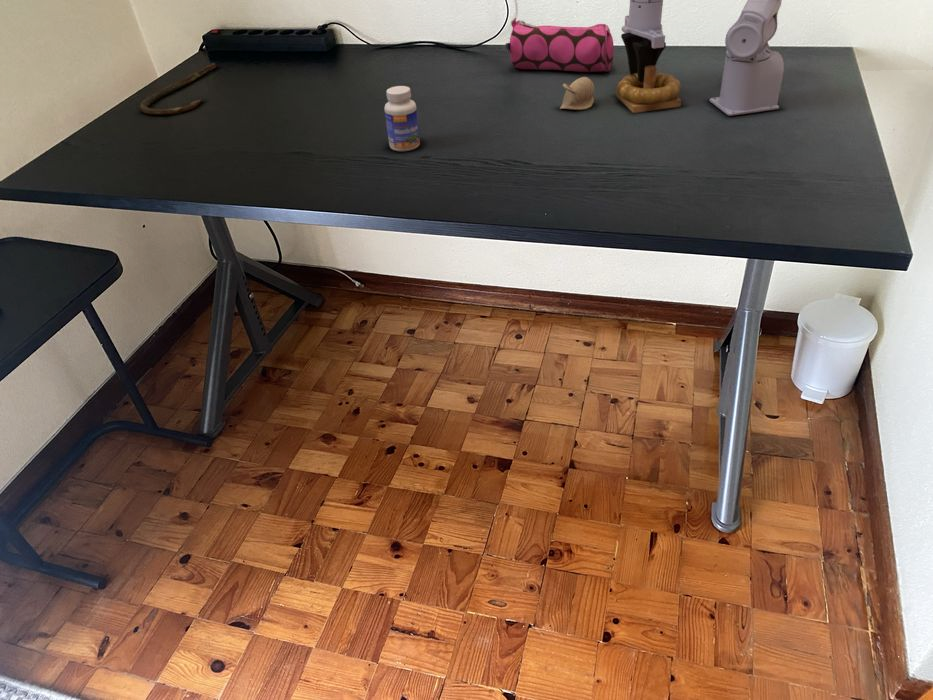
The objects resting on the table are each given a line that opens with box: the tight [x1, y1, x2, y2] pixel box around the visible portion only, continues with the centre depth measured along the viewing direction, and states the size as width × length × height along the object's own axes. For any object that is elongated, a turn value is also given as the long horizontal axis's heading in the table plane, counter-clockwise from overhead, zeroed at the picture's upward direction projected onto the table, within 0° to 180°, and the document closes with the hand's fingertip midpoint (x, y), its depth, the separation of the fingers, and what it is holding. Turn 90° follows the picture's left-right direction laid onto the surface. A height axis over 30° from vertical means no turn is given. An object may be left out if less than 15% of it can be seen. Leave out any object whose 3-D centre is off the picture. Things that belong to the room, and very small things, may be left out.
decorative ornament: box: [559, 76, 595, 111], centre depth 134 cm, size 4×8×5 cm, turn 129°
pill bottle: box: [383, 85, 421, 152], centre depth 124 cm, size 5×5×10 cm
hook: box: [139, 62, 217, 116], centre depth 158 cm, size 12×30×2 cm, turn 8°
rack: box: [615, 65, 682, 114], centre depth 133 cm, size 9×9×6 cm
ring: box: [616, 71, 682, 104], centre depth 134 cm, size 11×11×3 cm
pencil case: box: [505, 17, 615, 73], centre depth 149 cm, size 21×10×10 cm, turn 73°
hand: (640, 77), depth 137 cm, fingers open, 4 cm apart
